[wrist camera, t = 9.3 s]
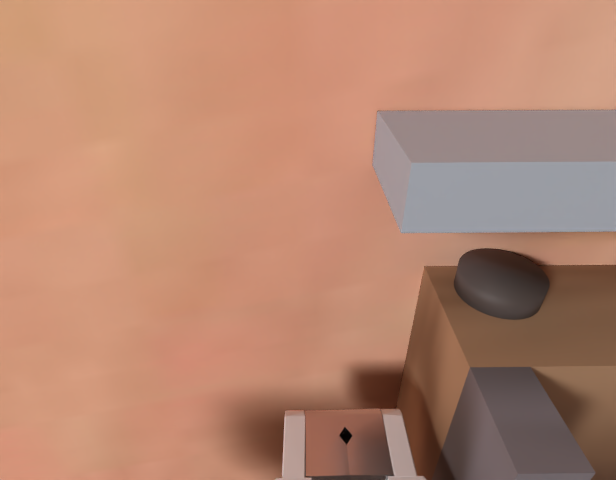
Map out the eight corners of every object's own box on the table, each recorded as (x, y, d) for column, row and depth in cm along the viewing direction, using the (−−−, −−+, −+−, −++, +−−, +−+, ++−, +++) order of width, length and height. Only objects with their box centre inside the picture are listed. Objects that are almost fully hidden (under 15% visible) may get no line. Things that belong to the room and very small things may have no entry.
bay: (377, 111, 8) (411, 162, 6) (990, 107, 8) (1295, 157, 6) (343, 472, 16) (351, 562, 14) (656, 468, 16) (721, 556, 14)
